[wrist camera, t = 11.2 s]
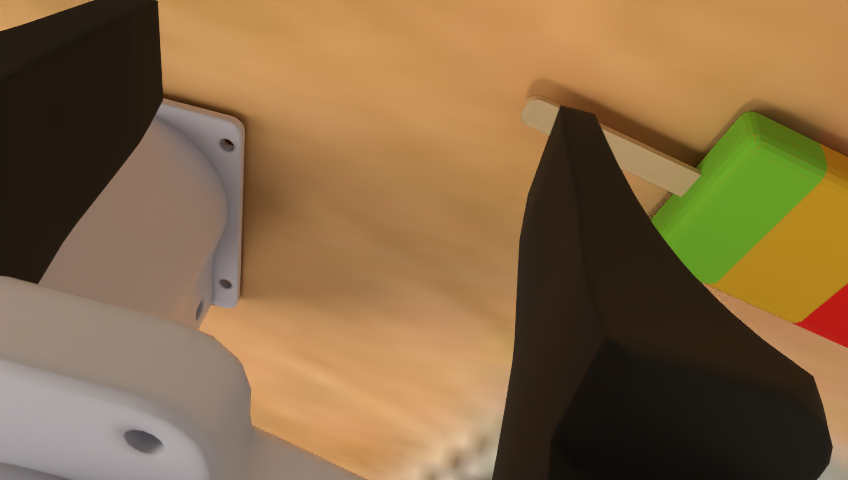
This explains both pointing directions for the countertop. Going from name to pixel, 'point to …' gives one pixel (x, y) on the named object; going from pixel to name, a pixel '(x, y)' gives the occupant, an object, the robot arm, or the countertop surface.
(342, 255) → the countertop surface
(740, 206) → the popsicle
